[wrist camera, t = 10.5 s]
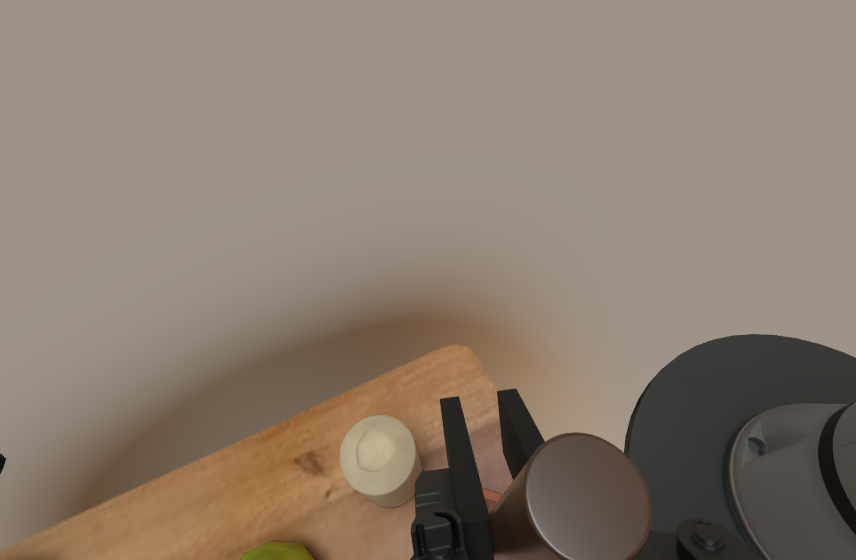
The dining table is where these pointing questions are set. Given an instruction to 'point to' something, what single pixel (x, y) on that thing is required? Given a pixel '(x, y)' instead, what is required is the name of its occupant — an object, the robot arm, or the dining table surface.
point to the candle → (381, 460)
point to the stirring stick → (573, 504)
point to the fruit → (278, 552)
